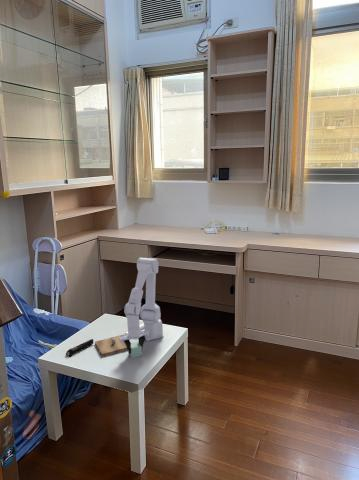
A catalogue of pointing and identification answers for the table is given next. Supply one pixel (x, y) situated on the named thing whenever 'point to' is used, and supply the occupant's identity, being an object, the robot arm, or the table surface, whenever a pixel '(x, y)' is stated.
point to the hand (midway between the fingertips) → (135, 351)
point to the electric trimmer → (79, 347)
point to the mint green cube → (136, 350)
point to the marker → (140, 328)
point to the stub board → (110, 346)
